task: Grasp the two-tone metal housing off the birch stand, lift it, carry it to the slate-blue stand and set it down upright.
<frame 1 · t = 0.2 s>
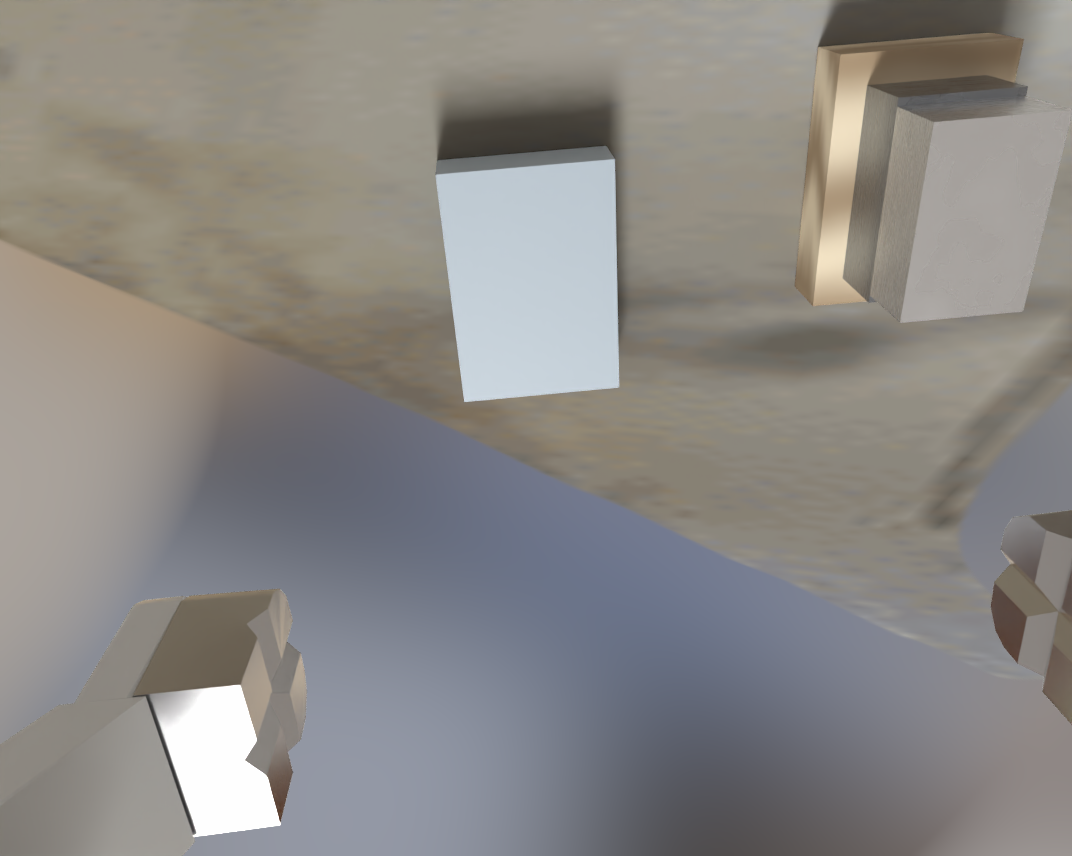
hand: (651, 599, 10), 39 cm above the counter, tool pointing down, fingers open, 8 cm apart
stand b: (530, 269, 48), on the counter
housing: (910, 182, 44), point 3 cm above the counter, touching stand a
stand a: (885, 168, 47), on the counter
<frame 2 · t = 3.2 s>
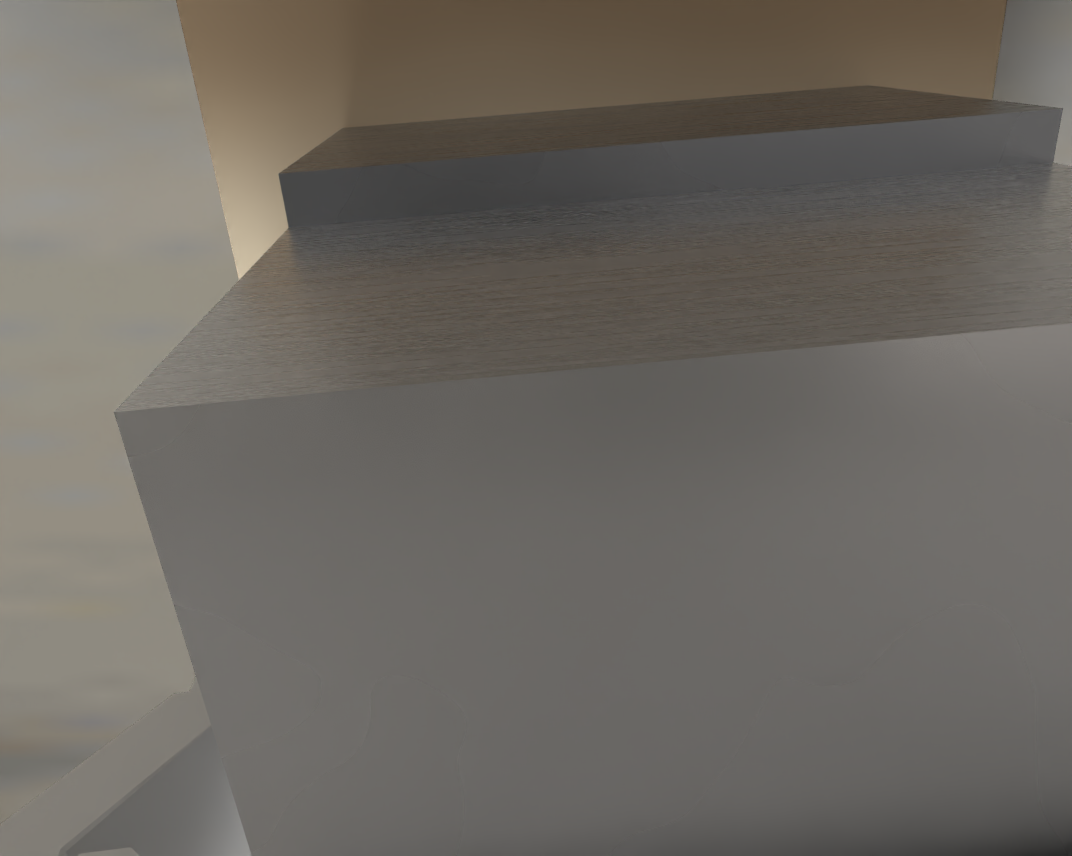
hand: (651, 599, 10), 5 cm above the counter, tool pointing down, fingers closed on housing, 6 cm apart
housing: (620, 490, 12), point 3 cm above the counter, touching gripper, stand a
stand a: (592, 405, 14), on the counter
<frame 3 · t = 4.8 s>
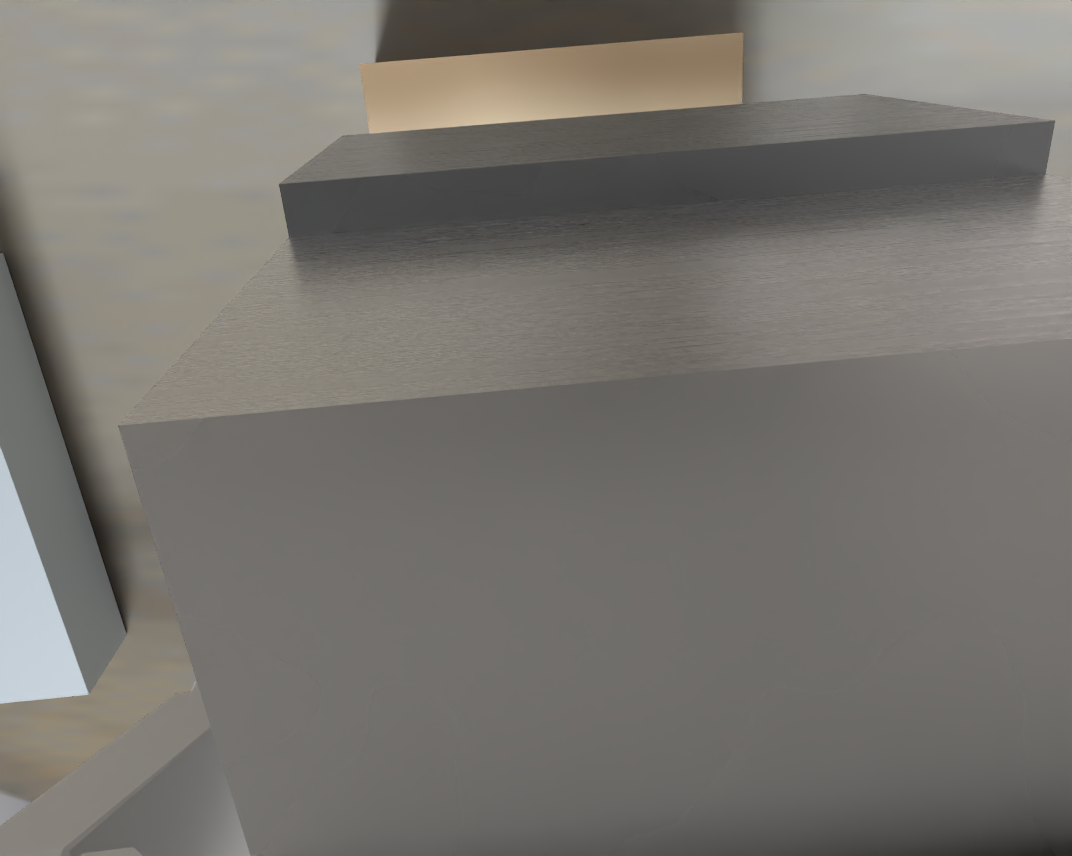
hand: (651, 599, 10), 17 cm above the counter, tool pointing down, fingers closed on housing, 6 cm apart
housing: (618, 495, 12), point 14 cm above the counter, touching gripper
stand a: (559, 291, 25), on the counter
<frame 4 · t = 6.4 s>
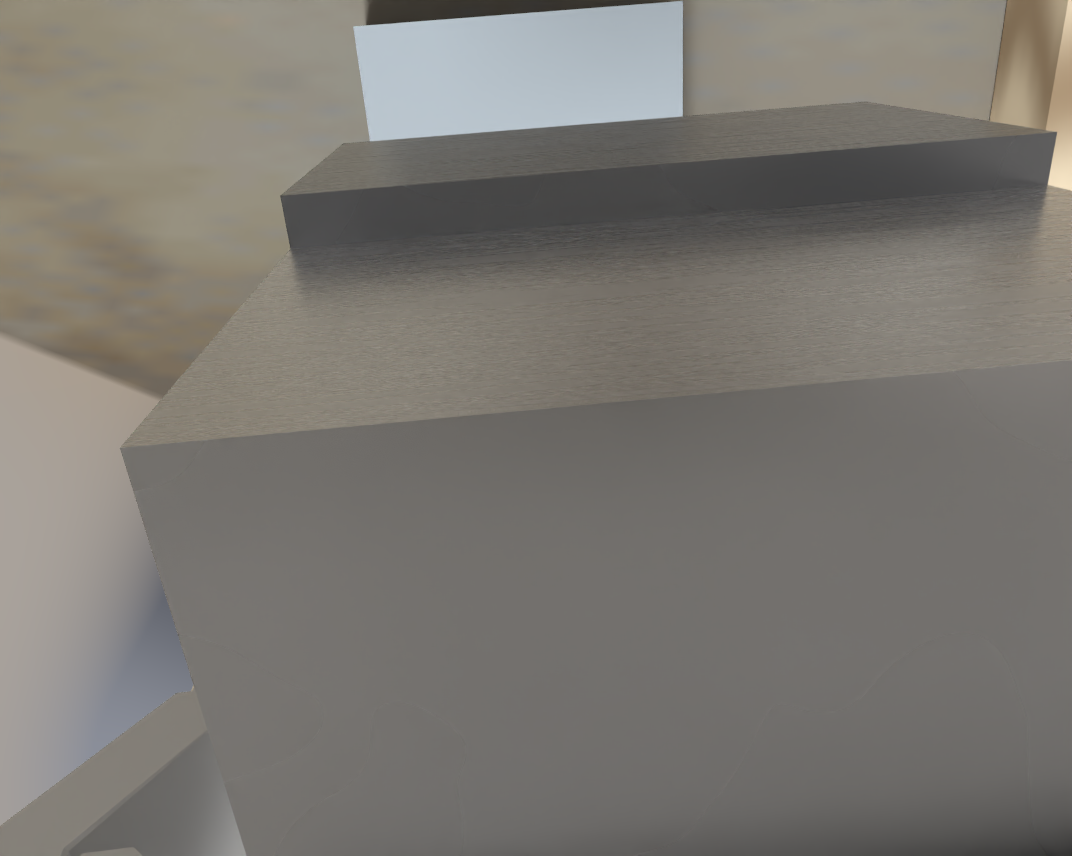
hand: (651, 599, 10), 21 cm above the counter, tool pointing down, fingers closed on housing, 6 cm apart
stand b: (529, 230, 28), on the counter
housing: (619, 502, 12), point 18 cm above the counter, touching gripper
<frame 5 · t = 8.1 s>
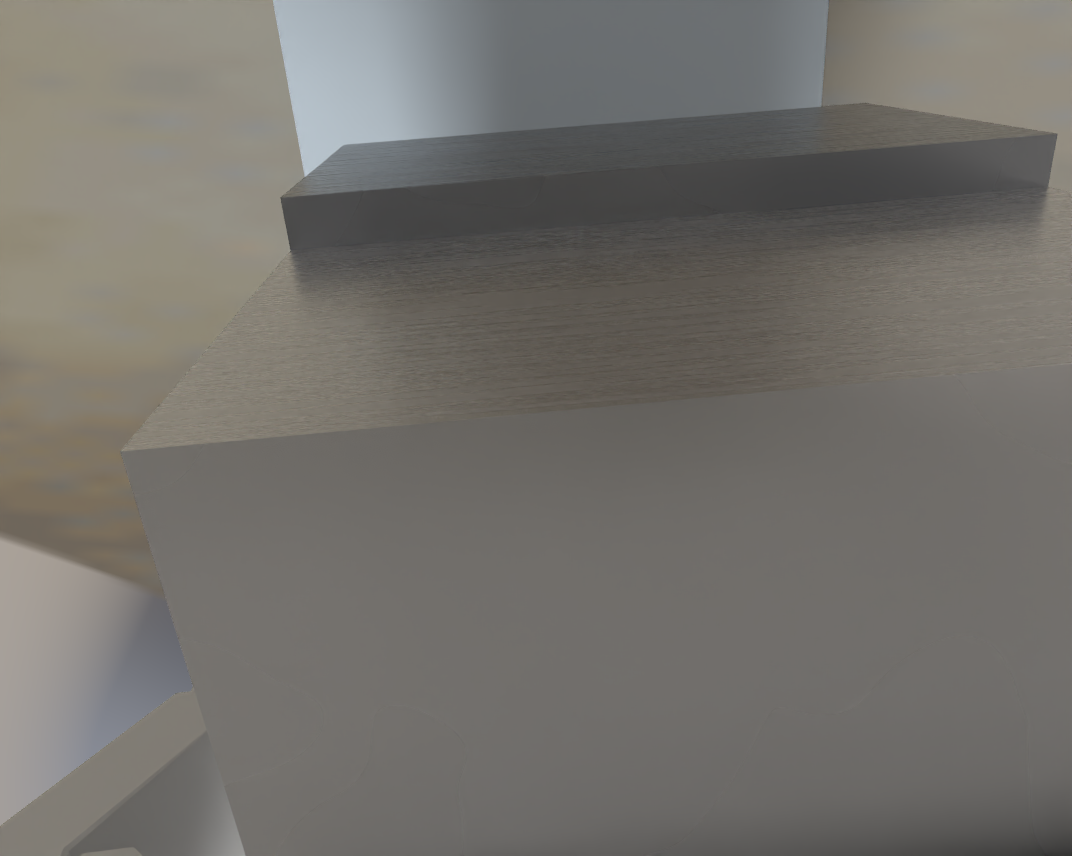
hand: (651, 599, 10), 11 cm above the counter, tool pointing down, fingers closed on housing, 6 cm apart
stand b: (559, 306, 19), on the counter
housing: (619, 503, 12), point 8 cm above the counter, touching gripper
when the fingers open (7 cm above the counter, at t = 9.4 s): housing drops 1 cm, resting on stand b.
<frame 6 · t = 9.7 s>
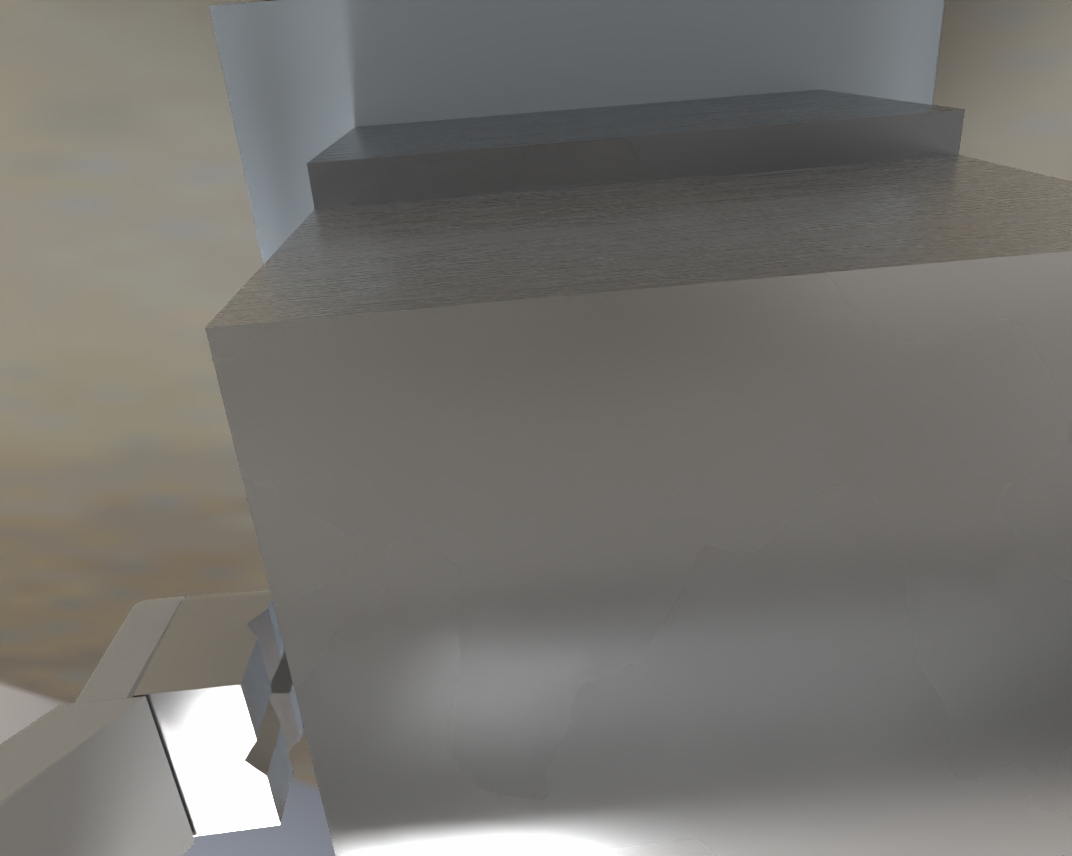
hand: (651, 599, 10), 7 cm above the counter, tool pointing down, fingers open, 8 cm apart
stand b: (581, 384, 16), on the counter
housing: (604, 455, 13), point 3 cm above the counter, touching stand b
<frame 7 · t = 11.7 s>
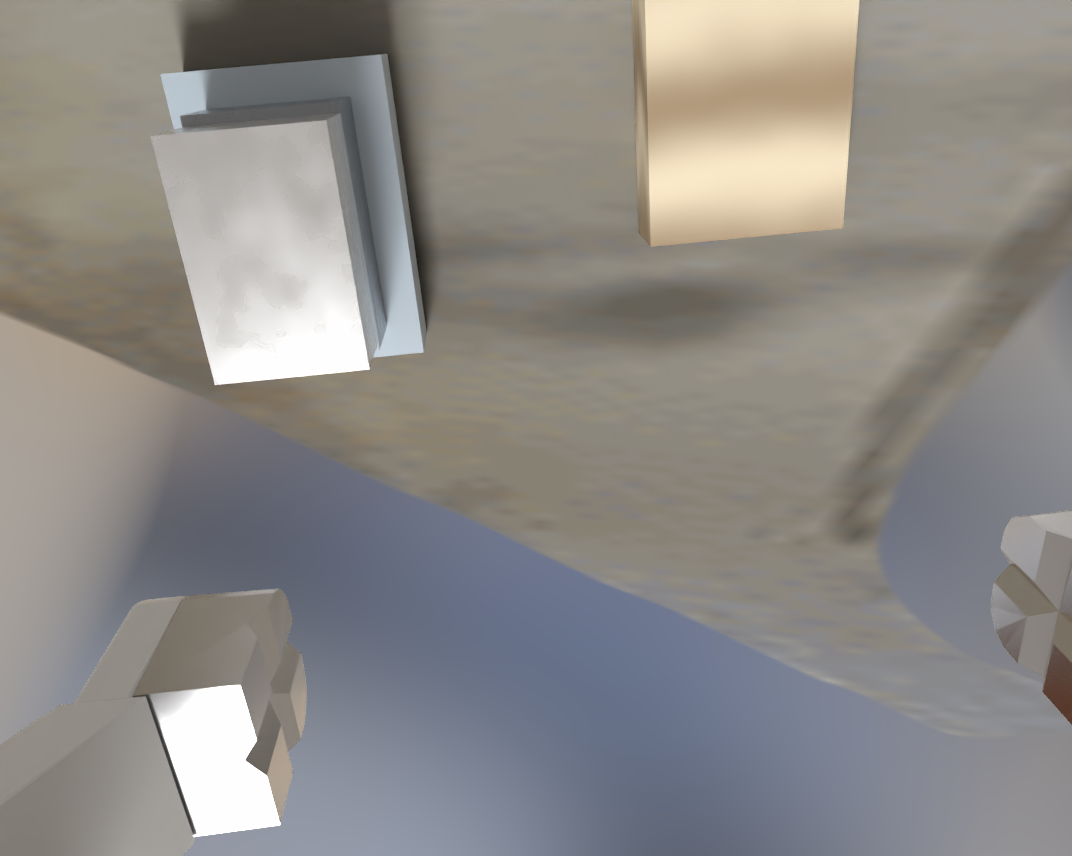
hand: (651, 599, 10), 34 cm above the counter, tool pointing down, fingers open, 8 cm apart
stand b: (313, 211, 40), on the counter
housing: (301, 223, 37), point 3 cm above the counter, touching stand b
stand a: (731, 83, 39), on the counter
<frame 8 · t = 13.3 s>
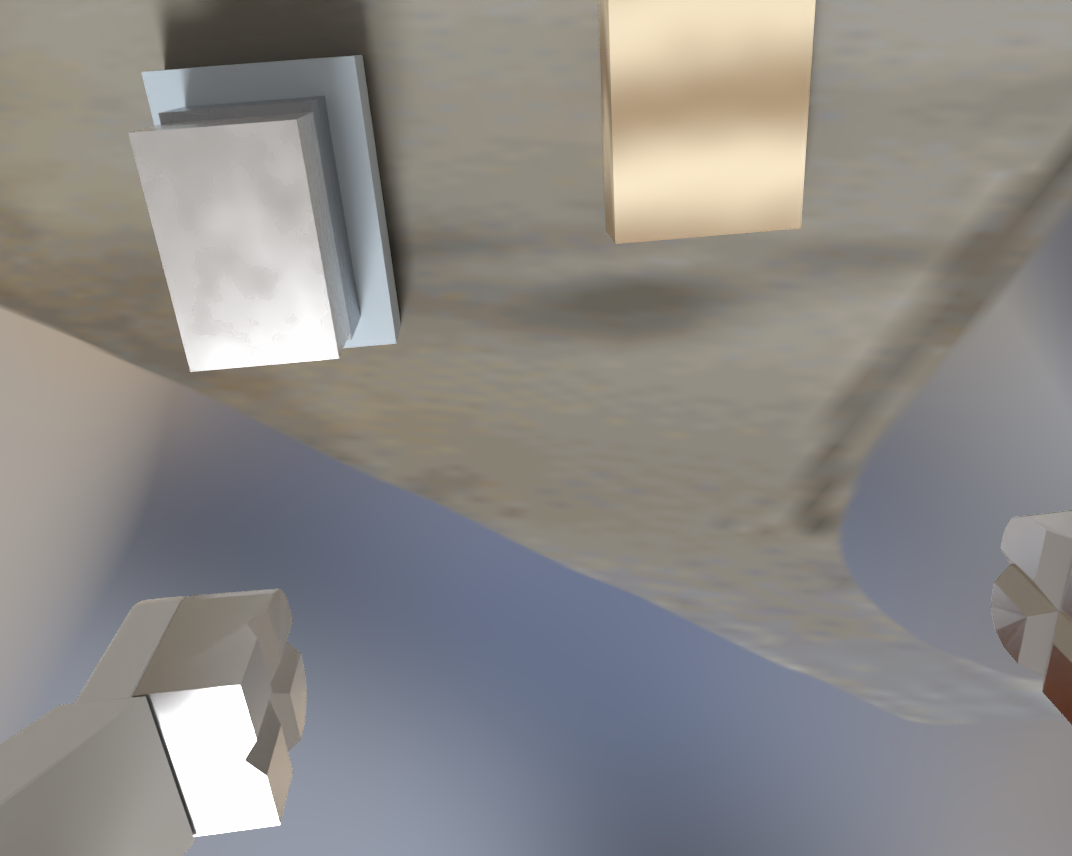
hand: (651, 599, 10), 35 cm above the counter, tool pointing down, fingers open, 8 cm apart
stand b: (291, 206, 41), on the counter
housing: (278, 217, 39), point 3 cm above the counter, touching stand b
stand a: (694, 86, 40), on the counter
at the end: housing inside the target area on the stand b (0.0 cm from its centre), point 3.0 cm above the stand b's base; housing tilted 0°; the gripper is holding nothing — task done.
